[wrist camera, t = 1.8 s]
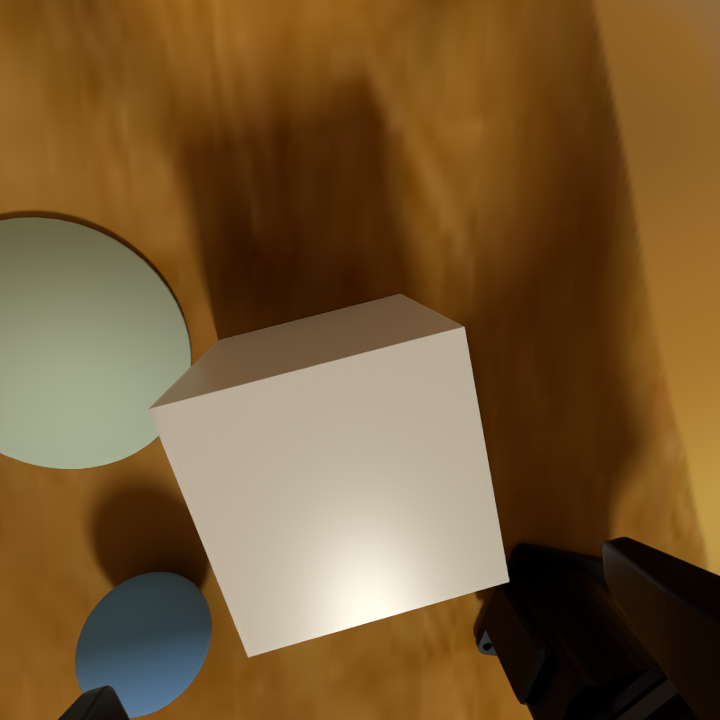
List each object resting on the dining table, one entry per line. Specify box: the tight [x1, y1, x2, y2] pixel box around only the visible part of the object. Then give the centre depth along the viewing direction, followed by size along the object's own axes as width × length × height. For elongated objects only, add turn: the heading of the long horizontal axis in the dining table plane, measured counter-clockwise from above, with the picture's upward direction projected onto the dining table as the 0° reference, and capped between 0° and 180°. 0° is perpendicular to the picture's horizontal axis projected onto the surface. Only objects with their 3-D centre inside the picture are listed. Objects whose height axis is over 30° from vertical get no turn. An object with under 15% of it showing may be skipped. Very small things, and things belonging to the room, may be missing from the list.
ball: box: [75, 572, 212, 718], centre depth 18 cm, size 5×5×5 cm
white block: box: [149, 294, 509, 657], centre depth 15 cm, size 8×8×8 cm
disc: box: [0, 217, 191, 469], centre depth 17 cm, size 10×10×1 cm
